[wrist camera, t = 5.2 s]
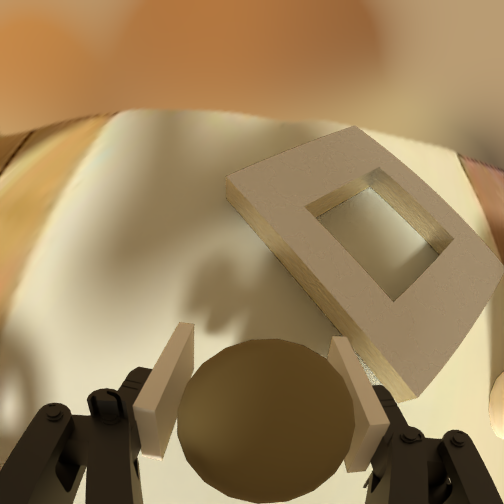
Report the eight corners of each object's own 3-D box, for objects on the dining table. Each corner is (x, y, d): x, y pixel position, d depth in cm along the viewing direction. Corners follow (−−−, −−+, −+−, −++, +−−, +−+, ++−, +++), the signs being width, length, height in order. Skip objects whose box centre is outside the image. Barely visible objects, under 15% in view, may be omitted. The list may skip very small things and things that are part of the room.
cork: (271, 359, 18) (309, 273, 9) (321, 439, 15) (422, 442, 6) (182, 402, 16) (113, 366, 7) (231, 487, 14) (224, 562, 4)
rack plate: (226, 198, 25) (225, 176, 23) (349, 144, 30) (354, 125, 28) (398, 403, 16) (417, 397, 14) (490, 282, 22) (506, 268, 19)
